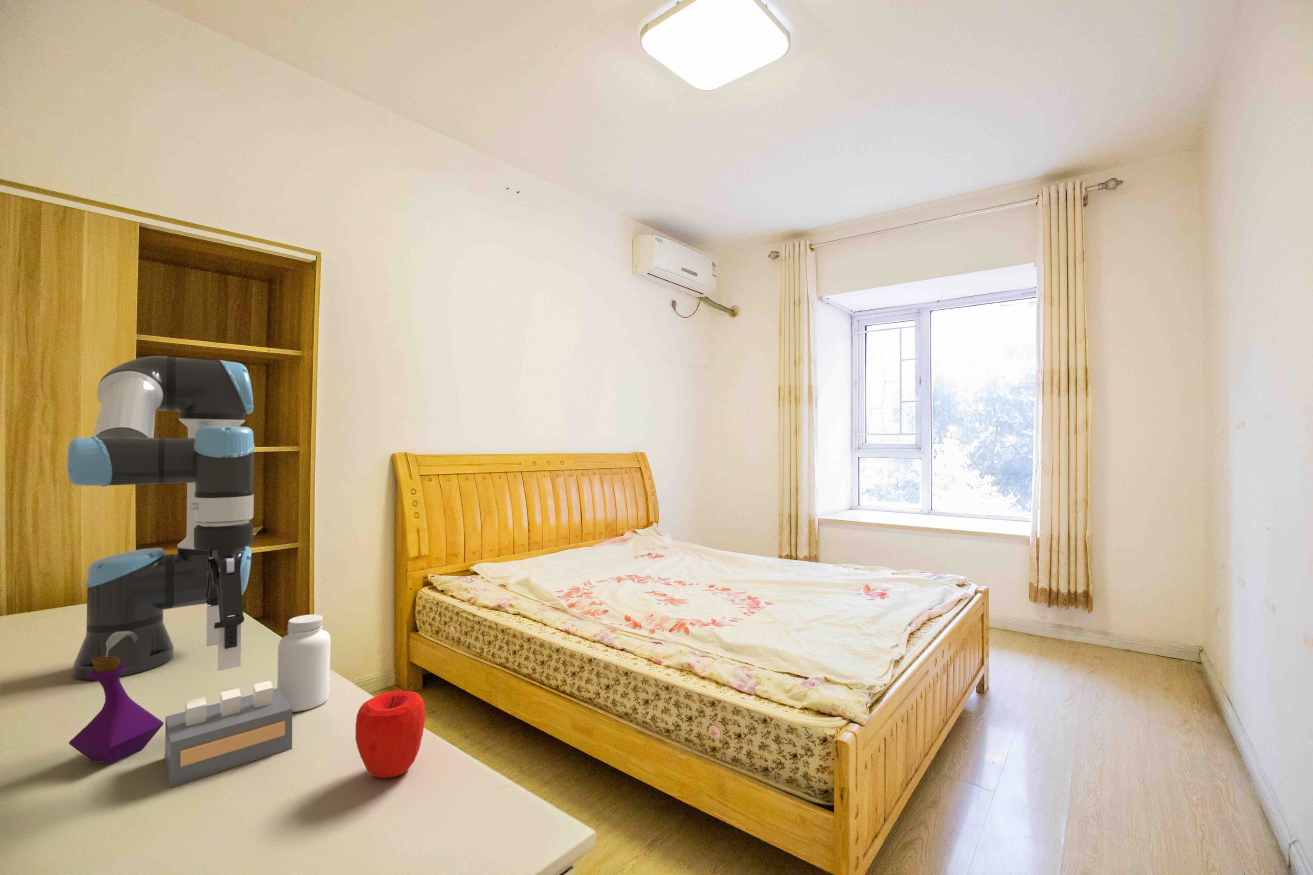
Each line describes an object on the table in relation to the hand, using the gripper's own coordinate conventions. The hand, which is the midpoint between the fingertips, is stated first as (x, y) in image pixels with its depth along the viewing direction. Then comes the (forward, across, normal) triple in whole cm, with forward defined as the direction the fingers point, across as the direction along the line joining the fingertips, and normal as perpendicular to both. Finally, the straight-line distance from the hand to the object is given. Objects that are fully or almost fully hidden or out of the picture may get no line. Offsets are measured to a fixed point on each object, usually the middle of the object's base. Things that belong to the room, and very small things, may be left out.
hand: (222, 655), depth 90 cm
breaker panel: (+12, +8, 0) cm, 15 cm away
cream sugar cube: (+6, +8, +4) cm, 11 cm away
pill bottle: (+12, -3, +12) cm, 18 cm away
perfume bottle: (+12, -3, -12) cm, 18 cm away
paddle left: (+6, +8, -4) cm, 11 cm away
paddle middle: (+6, +8, 0) cm, 10 cm away
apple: (+12, +30, +15) cm, 36 cm away
